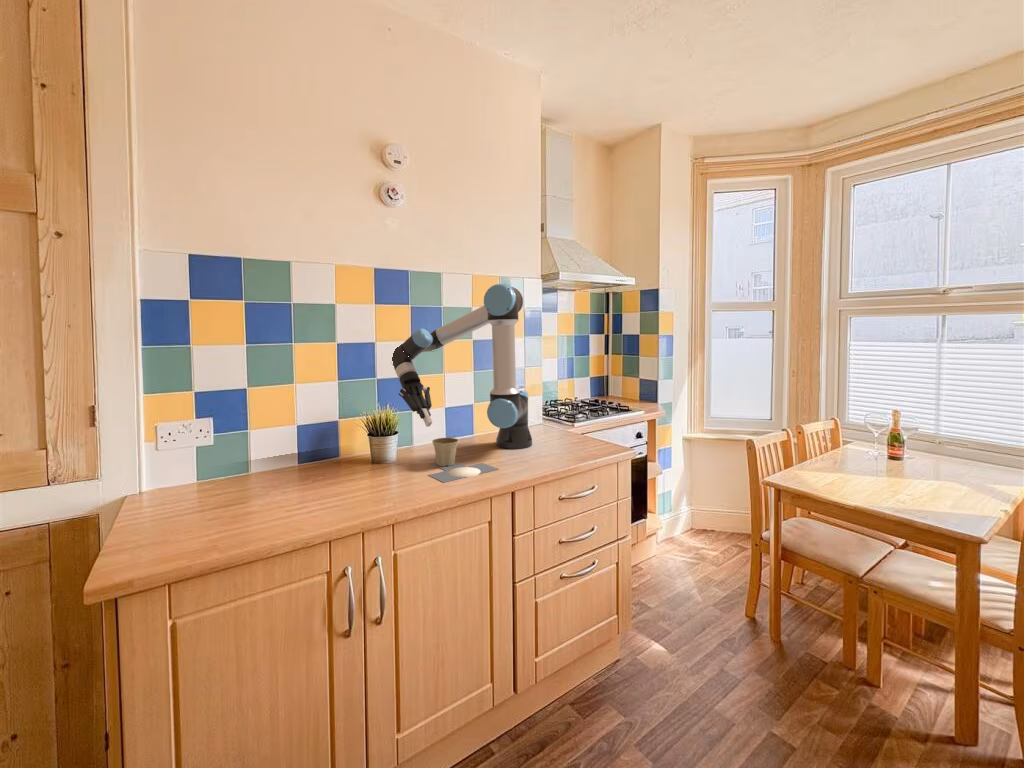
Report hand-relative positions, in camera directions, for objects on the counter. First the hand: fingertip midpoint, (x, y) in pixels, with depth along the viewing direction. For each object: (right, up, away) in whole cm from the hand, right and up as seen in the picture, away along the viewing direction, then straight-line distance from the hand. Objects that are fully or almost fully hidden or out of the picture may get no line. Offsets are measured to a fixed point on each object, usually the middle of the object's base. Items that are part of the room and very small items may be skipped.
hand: (429, 424), depth 173 cm
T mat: (+11, -15, -12) cm, 22 cm away
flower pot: (+7, -14, -7) cm, 17 cm away
